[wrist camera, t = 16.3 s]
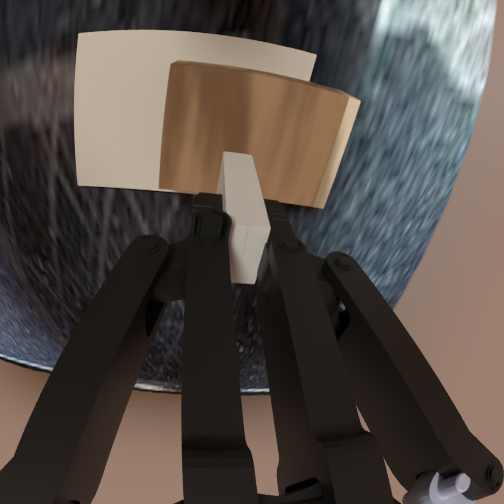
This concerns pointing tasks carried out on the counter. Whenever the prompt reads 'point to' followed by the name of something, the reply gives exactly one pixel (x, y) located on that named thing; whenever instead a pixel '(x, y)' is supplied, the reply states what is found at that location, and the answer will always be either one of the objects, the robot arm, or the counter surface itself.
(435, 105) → the counter surface
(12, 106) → the counter surface
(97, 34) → the felt mat
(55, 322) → the counter surface
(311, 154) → the beige rectangular box
